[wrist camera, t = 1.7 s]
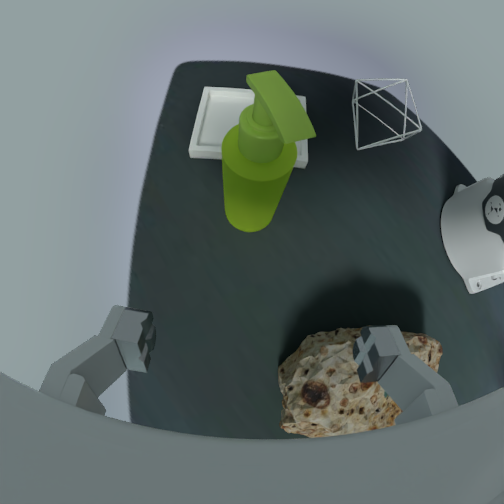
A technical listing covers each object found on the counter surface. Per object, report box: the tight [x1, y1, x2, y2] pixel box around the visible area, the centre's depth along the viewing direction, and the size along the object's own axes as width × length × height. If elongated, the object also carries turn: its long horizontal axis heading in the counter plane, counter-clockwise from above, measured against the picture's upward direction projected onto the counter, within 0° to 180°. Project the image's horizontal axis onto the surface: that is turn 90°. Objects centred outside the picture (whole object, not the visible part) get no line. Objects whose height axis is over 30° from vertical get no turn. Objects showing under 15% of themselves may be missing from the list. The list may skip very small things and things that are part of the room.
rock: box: [278, 325, 443, 438], centre depth 26 cm, size 21×14×10 cm
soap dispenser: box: [221, 70, 316, 232], centre depth 23 cm, size 6×7×20 cm
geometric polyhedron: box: [352, 79, 422, 150], centre depth 33 cm, size 12×11×9 cm
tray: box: [189, 87, 308, 169], centre depth 34 cm, size 15×12×2 cm
